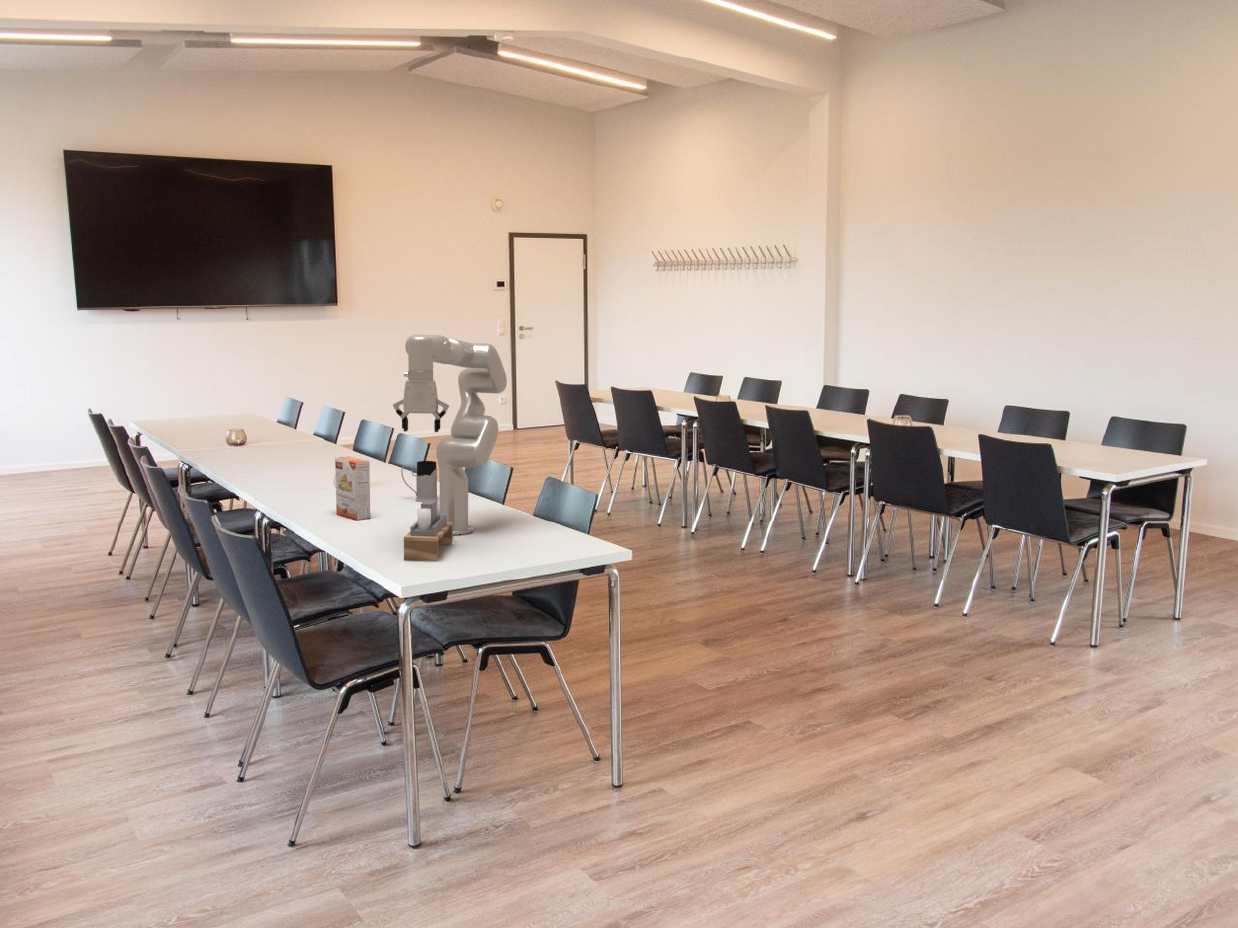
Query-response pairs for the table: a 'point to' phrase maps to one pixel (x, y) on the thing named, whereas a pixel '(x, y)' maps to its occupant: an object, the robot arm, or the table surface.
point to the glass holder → (425, 480)
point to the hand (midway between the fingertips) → (421, 431)
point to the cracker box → (352, 488)
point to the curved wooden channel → (427, 544)
